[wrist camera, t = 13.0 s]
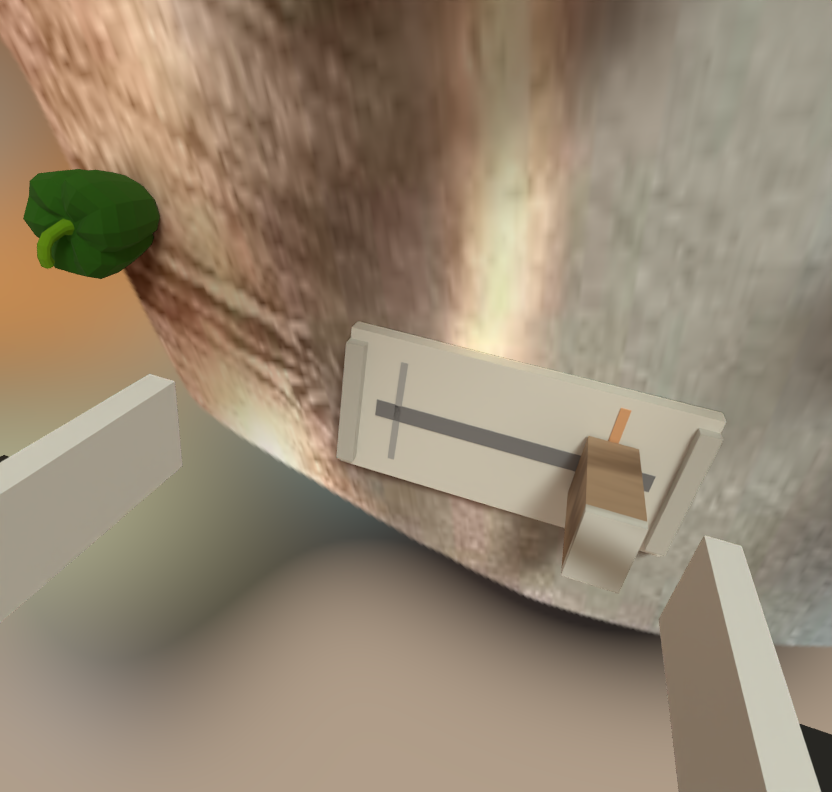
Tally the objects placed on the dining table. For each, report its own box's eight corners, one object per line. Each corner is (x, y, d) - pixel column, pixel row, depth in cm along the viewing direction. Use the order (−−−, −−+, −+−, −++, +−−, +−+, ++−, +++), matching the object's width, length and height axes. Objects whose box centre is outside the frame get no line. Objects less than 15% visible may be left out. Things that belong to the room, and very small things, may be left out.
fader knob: (588, 435, 44) (585, 511, 36) (639, 449, 44) (648, 529, 35) (567, 493, 47) (561, 575, 39) (614, 506, 47) (618, 593, 38)
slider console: (358, 321, 48) (347, 331, 46) (722, 412, 42) (729, 428, 40) (345, 452, 55) (335, 466, 53) (657, 545, 49) (660, 564, 47)
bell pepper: (108, 139, 47) (-1, 147, 38) (187, 202, 47) (96, 223, 39) (84, 220, 51) (-19, 242, 43) (156, 276, 52) (69, 309, 43)
